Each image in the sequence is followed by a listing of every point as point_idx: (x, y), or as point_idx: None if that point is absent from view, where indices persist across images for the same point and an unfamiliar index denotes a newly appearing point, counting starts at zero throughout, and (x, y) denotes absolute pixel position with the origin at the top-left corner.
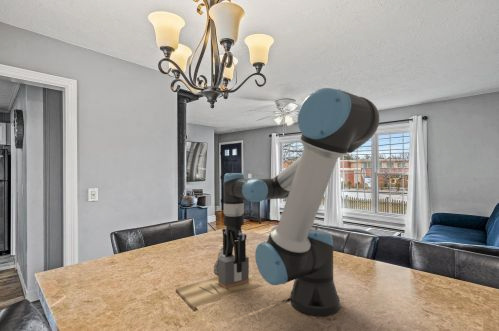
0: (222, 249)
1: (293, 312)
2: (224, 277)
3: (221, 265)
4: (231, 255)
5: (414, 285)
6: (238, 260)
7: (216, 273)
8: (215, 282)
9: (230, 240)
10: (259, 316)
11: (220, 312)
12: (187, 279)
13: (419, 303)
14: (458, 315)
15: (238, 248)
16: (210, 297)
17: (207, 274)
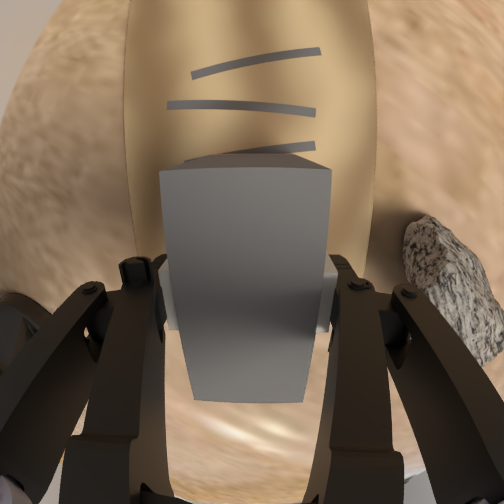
0: (500, 339)
1: (12, 279)
2: (207, 158)
3: (252, 162)
4: (331, 334)
5: None
6: (95, 293)
7: (417, 221)
8: (320, 149)
9: (318, 483)
10: (12, 187)
11: (72, 73)
12: (451, 86)
13: None
14: None
15: (28, 374)
16: (163, 52)
17: (449, 192)
